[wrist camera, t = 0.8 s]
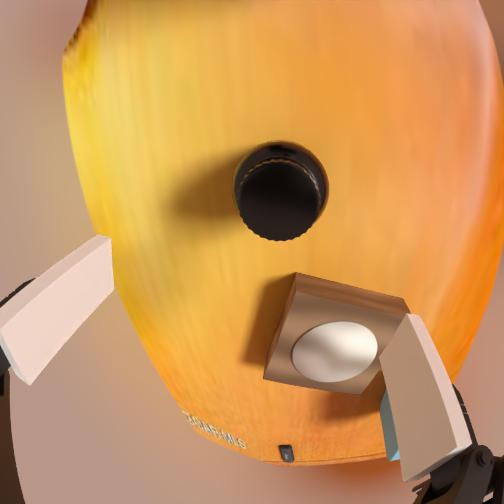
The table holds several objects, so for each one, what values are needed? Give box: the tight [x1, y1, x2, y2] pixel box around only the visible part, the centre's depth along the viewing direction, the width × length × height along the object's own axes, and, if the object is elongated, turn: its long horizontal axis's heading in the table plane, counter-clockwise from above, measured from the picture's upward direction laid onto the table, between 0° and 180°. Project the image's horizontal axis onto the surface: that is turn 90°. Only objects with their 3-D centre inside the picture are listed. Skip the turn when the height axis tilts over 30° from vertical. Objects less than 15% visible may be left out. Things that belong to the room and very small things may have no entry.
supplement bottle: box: [232, 140, 329, 241], centre depth 20 cm, size 7×7×12 cm
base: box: [263, 272, 411, 395], centre depth 31 cm, size 14×14×4 cm
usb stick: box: [280, 445, 294, 463], centre depth 48 cm, size 10×3×2 cm, turn 11°
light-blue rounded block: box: [380, 388, 400, 461], centre depth 31 cm, size 12×4×12 cm, turn 8°
